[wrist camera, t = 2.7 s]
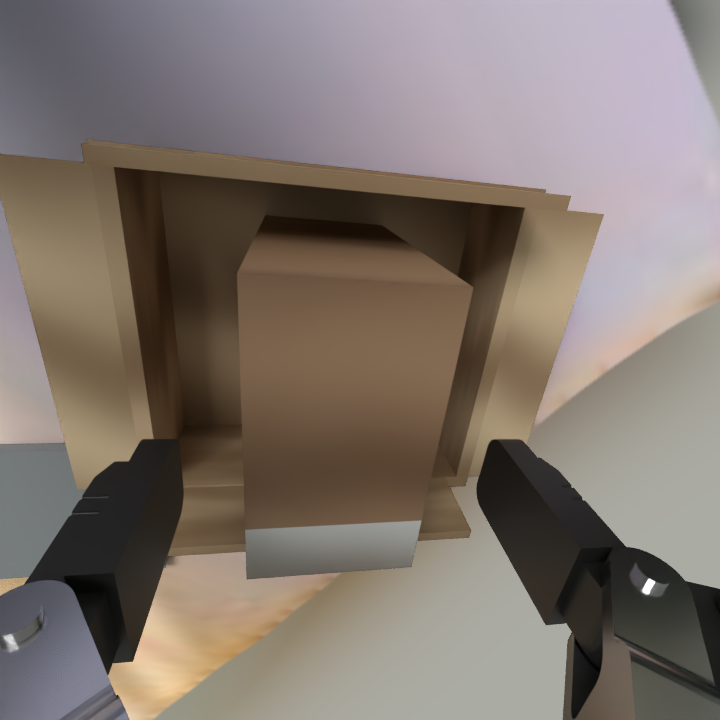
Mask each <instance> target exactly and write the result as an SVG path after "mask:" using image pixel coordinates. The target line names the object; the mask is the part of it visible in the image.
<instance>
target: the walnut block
mask: <svg viewBox="0 0 720 720" xmlns="http://www.w3.org/2000/svg"><path fill="white" fill-rule="evenodd" d="M473 288H474V287H472V286H471V285H469V284H468V283H466V282H465V281H463V280H462V279H460V278H459V277H458V276H456V275H455V274H453V273H452V272H450V271H449V270H447V269H446V268H444V267H443V266H441V265H440V264H438V263H437V262H435V261H434V260H432V259H431V258H430V257H428V256H427V255H425V254H424V253H422V252H421V251H419V250H418V249H416V248H415V247H413V246H412V245H410V244H409V243H407V242H406V241H404V240H403V239H401V238H400V237H399V236H397V235H396V234H394V233H393V232H391V231H390V230H388V229H387V228H385V227H384V226H382V225H375V224H363V223H351V222H339V221H328V220H316V219H304V218H292V217H280V216H269V215H265V217H264V219H263V221H262V223H261V225H260V227H259V229H258V231H257V233H256V235H255V237H254V239H253V241H252V244H251V246H250V248H249V250H248V252H247V254H246V256H245V258H244V260H243V262H242V264H241V266H240V268H239V270H238V273H237V289H238V320H239V351H240V382H241V414H242V445H243V476H244V507H245V538H246V570H247V579H257V578H271V577H284V576H298V575H311V574H324V573H338V572H351V571H365V570H377V569H391V568H404V567H411V566H412V562H413V557H414V552H415V548H416V543H417V539H418V535H419V530H420V526H421V521H422V517H423V512H424V508H425V503H426V499H427V494H428V490H429V485H430V481H431V476H432V472H433V467H434V463H435V458H436V454H437V449H438V445H439V440H440V436H441V431H442V427H443V422H444V418H445V413H446V409H447V404H448V400H449V395H450V391H451V386H452V382H453V378H454V373H455V369H456V364H457V360H458V355H459V351H460V346H461V342H462V337H463V333H464V328H465V324H466V319H467V315H468V310H469V306H470V301H471V297H472V292H473Z"/></svg>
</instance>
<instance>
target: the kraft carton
mask: <svg viewBox="0 0 720 720" xmlns="http://www.w3.org/2000/svg"><path fill="white" fill-rule="evenodd" d="M86 141H87V144H81V146H82V152H83V158H84V162H76V161H66V160H56V159H46V158H36V157H26V156H16V155H6V154H0V197H1V201H2V204H3V208H4V212H5V216H6V220H7V223H8V227H9V231H10V235H11V239H12V242H13V246H14V250H15V254H16V258H17V262H18V265H19V269H20V273H21V277H22V281H23V284H24V288H25V292H26V296H27V300H28V303H29V307H30V311H31V315H32V319H33V323H34V326H35V330H36V334H37V338H38V342H39V345H40V349H41V353H42V357H43V361H44V365H45V368H46V372H47V376H48V380H49V384H50V387H51V391H52V395H53V399H54V403H55V406H56V410H57V414H58V418H59V422H60V426H61V429H62V433H63V437H64V441H65V445H66V448H67V452H68V456H69V460H70V464H71V467H72V471H73V475H74V479H75V483H76V487H77V489H87V488H88V486H89V485H90V483H91V482H92V480H93V478H94V477H95V476H97V475H98V474H99V473H100V472H102V471H103V470H104V469H106V468H107V467H108V466H109V465H111V464H112V463H113V462H115V461H129V460H130V458H131V456H132V455H133V453H134V451H135V449H136V448H137V446H138V444H139V442H140V441H141V440H142V439H177V440H178V442H179V446H180V456H181V467H182V477H183V487H184V498H183V507H182V512H181V516H180V519H179V522H178V525H177V528H176V531H175V534H174V538H173V541H172V544H171V547H170V550H169V553H168V556H181V555H197V554H214V553H230V552H246V538H245V507H244V476H243V445H242V414H241V382H240V351H239V320H238V289H237V273H238V270H239V268H240V266H241V264H242V262H243V260H244V258H245V256H246V254H247V252H248V250H249V248H250V246H251V244H252V241H253V239H254V237H255V235H256V233H257V231H258V229H259V227H260V225H261V223H262V221H263V219H264V217H265V215H269V216H280V217H292V218H304V219H316V220H328V221H339V222H351V223H363V224H375V225H382V226H384V227H385V228H387V229H388V230H390V231H391V232H393V233H394V234H396V235H397V236H399V237H400V238H401V239H403V240H404V241H406V242H407V243H409V244H410V245H412V246H413V247H415V248H416V249H418V250H419V251H421V252H422V253H424V254H425V255H427V256H428V257H430V258H431V259H432V260H434V261H435V262H437V263H438V264H440V265H441V266H443V267H444V268H446V269H447V270H449V271H450V272H452V273H453V274H455V275H456V276H458V277H459V278H460V279H462V280H463V281H465V282H466V283H468V284H469V285H471V286H472V287H474V288H473V292H472V297H471V301H470V306H469V310H468V315H467V319H466V324H465V328H464V333H463V337H462V342H461V346H460V351H459V355H458V360H457V364H456V369H455V373H454V378H453V382H452V386H451V391H450V395H449V400H448V404H447V409H446V413H445V418H444V422H443V427H442V431H441V436H440V440H439V445H438V449H437V454H436V458H435V463H434V467H433V472H432V476H431V481H430V485H429V490H428V494H427V499H426V503H425V508H424V512H423V517H422V521H421V526H420V530H419V535H418V539H417V541H422V540H436V539H453V538H469V536H470V533H471V529H470V527H469V525H468V523H467V521H466V519H465V517H464V515H463V513H462V511H461V509H460V507H459V505H458V503H457V501H456V499H455V497H454V495H453V493H452V491H451V488H450V487H456V486H466V482H467V478H468V476H479V475H480V472H481V468H482V465H483V461H484V458H485V454H486V451H487V447H488V444H489V442H490V441H491V440H493V439H520V440H522V441H523V442H524V443H525V444H527V441H528V438H529V435H530V432H531V429H532V426H533V423H534V420H535V417H536V414H537V411H538V408H539V405H540V402H541V400H542V397H543V394H544V391H545V388H546V385H547V382H548V379H549V376H550V373H551V370H552V367H553V364H554V361H555V358H556V355H557V352H558V349H559V346H560V343H561V340H562V337H563V334H564V331H565V328H566V325H567V322H568V319H569V316H570V313H571V310H572V308H573V305H574V302H575V299H576V296H577V293H578V290H579V287H580V284H581V281H582V278H583V275H584V272H585V269H586V266H587V263H588V260H589V257H590V254H591V251H592V248H593V245H594V242H595V239H596V236H597V233H598V230H599V227H600V224H601V221H602V218H603V216H604V215H603V214H597V213H587V212H577V211H567V208H568V205H569V201H570V198H571V196H565V195H557V194H548V193H545V192H546V190H544V189H535V188H526V187H517V186H508V185H498V184H489V183H480V182H471V181H462V180H453V179H444V178H434V177H425V176H416V175H407V174H398V173H389V172H380V171H370V170H361V169H352V168H343V167H334V166H325V165H316V164H306V163H297V162H288V161H279V160H270V159H261V158H252V157H242V156H233V155H224V154H215V153H206V152H197V151H188V150H178V149H169V148H160V147H151V146H142V145H133V144H124V143H114V142H105V141H96V140H87V139H86Z"/></svg>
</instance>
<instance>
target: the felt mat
mask: <svg viewBox="0 0 720 720" xmlns="http://www.w3.org/2000/svg"><path fill="white" fill-rule="evenodd" d="M85 491H86V489H77V487H76V483H75V479H74V475H73V471H72V467H71V464H70V460H69V456H68V452H67V448H66V445H65V444H0V579H8V578H23V577H30V575H31V573H32V572H33V570H34V569H35V567H36V566H37V564H38V563H39V561H40V560H41V558H42V557H43V555H44V554H45V552H46V550H47V549H48V547H49V546H50V544H51V543H52V541H53V540H54V538H55V537H56V535H57V534H58V532H59V531H60V529H61V527H62V526H63V524H64V523H65V521H66V520H67V518H68V517H69V516H71V514H72V511H73V509H74V508H75V506H76V505H77V503H78V501H79V500H81V499H82V495H83V494H84V492H85ZM167 561H168V556H167V559H166V562H165V565H164V568H165V567H166V564H167Z"/></svg>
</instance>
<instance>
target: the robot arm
mask: <svg viewBox="0 0 720 720" xmlns="http://www.w3.org/2000/svg"><path fill="white" fill-rule="evenodd" d="M183 498H184V487H183V477H182V467H181V456H180V446H179V442H178V440H177V439H142V440H141V441H140V442H139V444H138V446H137V448H136V449H135V451H134V453H133V455H132V456H131V458H130V460H129V461H115V462H113V463H112V464H111V465H109V466H108V467H107V468H106V469H104V470H103V471H102V472H100V473H99V474H98V475H97V476H95V477H94V478H93V480H92V482H91V483H90V485H89V486H88V488H87V489H86V491H85V492H84V494H83V495H82V499H81V500H79V501H78V503H77V505H76V506H75V508H74V509H73V511H72V514H71V516H69V517H68V518H67V520H66V521H65V523H64V524H63V526H62V527H61V529H60V531H59V532H58V534H57V535H56V537H55V538H54V540H53V541H52V543H51V544H50V546H49V547H48V549H47V550H46V552H45V554H44V555H43V557H42V558H41V560H40V561H39V563H38V564H37V566H36V567H35V569H34V570H33V572H32V573H31V575H30V577H29V578H28V580H27V581H26V582H25V584H24V585H22V586H19V587H17V588H15V589H12V590H10V591H8V592H6V593H4V594H3V595H1V596H0V720H129V717H128V715H127V712H126V710H125V708H124V705H123V703H122V701H121V699H120V697H119V696H118V695H117V696H116V694H115V692H114V690H113V688H112V685H111V683H110V680H109V678H108V674H109V671H110V669H111V666H112V663H121V662H132V661H133V659H134V656H135V653H136V650H137V647H138V644H139V641H140V638H141V635H142V632H143V629H144V626H145V623H146V620H147V617H148V614H149V611H150V608H151V605H152V601H153V598H154V595H155V592H156V589H157V586H158V583H159V580H160V577H161V574H162V571H163V568H164V565H165V562H166V559H167V556H168V553H169V550H170V547H171V544H172V541H173V538H174V534H175V531H176V528H177V525H178V522H179V519H180V516H181V512H182V507H183ZM477 498H478V502H479V505H480V507H481V509H482V511H483V513H484V515H485V516H486V518H487V520H488V522H489V524H490V526H491V527H492V529H493V531H494V533H495V534H496V536H497V538H498V540H499V542H500V543H501V545H502V547H503V549H504V550H505V552H506V554H507V556H508V558H509V560H510V561H511V563H512V565H513V567H514V569H515V570H516V572H517V574H518V576H519V577H520V579H521V581H522V583H523V585H524V586H525V588H526V590H527V592H528V594H529V595H530V597H531V599H532V601H533V603H534V605H535V606H536V608H537V610H538V612H539V613H540V615H541V617H542V619H543V621H544V623H545V624H546V625H552V624H563V623H567V625H568V626H569V628H570V629H571V631H572V633H571V635H570V637H569V639H568V644H567V660H566V676H565V695H564V709H563V720H720V589H717V588H713V587H709V586H704V585H700V584H696V583H691V582H687V581H685V580H684V579H683V578H682V577H681V576H680V574H679V573H677V572H676V571H675V570H674V569H673V568H672V567H671V566H670V565H668V564H667V563H666V562H664V561H662V560H661V559H659V558H658V557H656V556H654V555H652V554H650V553H648V552H645V551H643V550H640V549H636V548H631V547H626V546H625V545H624V544H623V543H622V542H621V541H620V540H619V538H617V536H616V535H615V534H614V533H613V532H612V531H611V529H610V528H609V527H608V526H607V525H606V524H605V523H604V522H603V520H602V519H601V518H600V517H599V516H598V515H597V514H596V512H595V511H594V510H593V509H592V508H591V507H590V506H589V505H588V503H587V502H586V501H583V500H582V497H581V495H579V493H578V492H577V491H576V490H575V489H574V488H571V484H570V483H569V482H568V481H567V480H566V479H565V478H564V476H563V475H562V474H561V473H560V472H559V471H558V470H557V469H556V468H554V467H553V466H551V465H549V464H548V463H547V462H545V461H544V460H543V459H541V458H537V457H536V455H535V454H534V453H533V452H532V451H531V450H530V449H529V447H528V446H527V445H526V444H525V443H524V442H523V441H522V440H520V439H493V440H491V441H490V442H489V444H488V447H487V451H486V454H485V458H484V461H483V465H482V468H481V472H480V475H479V479H478V482H477Z"/></svg>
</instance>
